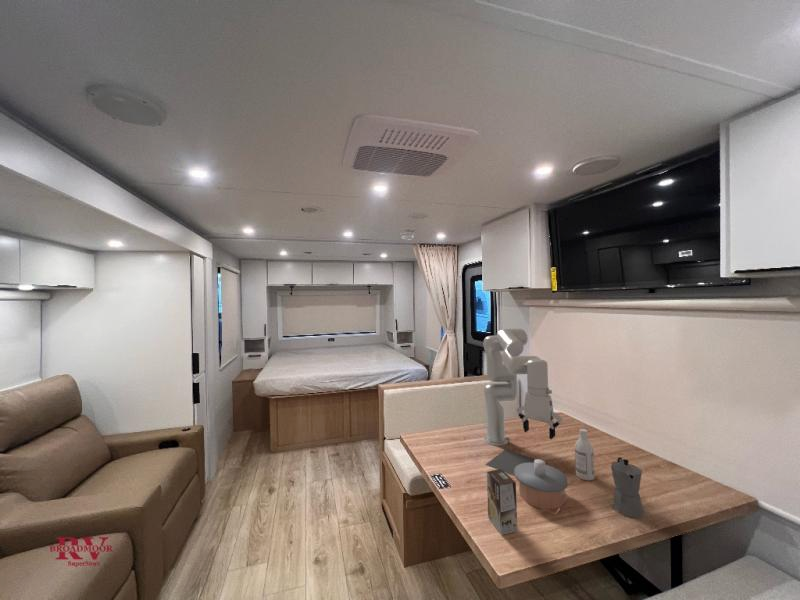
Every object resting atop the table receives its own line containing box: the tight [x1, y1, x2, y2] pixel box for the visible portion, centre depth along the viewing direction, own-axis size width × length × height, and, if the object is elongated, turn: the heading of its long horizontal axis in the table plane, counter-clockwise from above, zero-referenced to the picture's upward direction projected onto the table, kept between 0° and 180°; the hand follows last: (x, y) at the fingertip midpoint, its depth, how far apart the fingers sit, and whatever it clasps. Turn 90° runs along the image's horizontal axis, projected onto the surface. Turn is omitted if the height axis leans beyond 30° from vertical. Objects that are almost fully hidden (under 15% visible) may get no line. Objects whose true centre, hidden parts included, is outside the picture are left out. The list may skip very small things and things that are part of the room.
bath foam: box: [574, 428, 595, 481], centre depth 133 cm, size 7×7×20 cm
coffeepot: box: [610, 457, 644, 519], centre depth 112 cm, size 15×9×18 cm, turn 159°
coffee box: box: [486, 469, 518, 536], centre depth 105 cm, size 9×6×16 cm
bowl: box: [517, 480, 566, 510], centre depth 120 cm, size 16×16×7 cm
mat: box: [485, 449, 548, 477], centre depth 144 cm, size 21×21×1 cm
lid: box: [514, 458, 569, 492], centre depth 120 cm, size 19×19×6 cm
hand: (538, 434), depth 120 cm, fingers open, 9 cm apart
